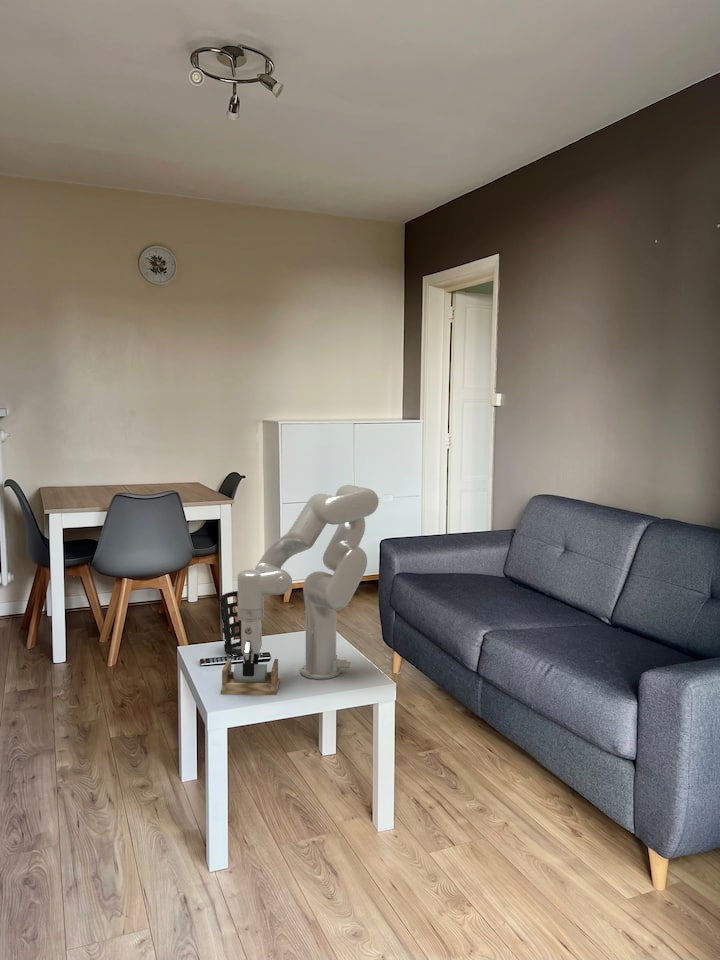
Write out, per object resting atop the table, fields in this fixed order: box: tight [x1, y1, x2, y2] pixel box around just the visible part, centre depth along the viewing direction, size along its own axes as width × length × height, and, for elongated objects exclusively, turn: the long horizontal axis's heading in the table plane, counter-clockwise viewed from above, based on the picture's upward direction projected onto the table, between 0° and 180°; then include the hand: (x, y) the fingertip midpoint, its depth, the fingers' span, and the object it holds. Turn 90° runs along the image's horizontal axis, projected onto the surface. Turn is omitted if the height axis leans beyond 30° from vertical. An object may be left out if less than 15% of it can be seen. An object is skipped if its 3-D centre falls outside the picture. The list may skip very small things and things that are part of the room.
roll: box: [233, 663, 268, 683], centre depth 212 cm, size 10×6×6 cm, turn 91°
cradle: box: [219, 658, 281, 696], centre depth 212 cm, size 16×10×7 cm, turn 91°
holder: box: [219, 590, 243, 657], centre depth 242 cm, size 11×8×20 cm
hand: (250, 669), depth 212 cm, fingers open, 9 cm apart
